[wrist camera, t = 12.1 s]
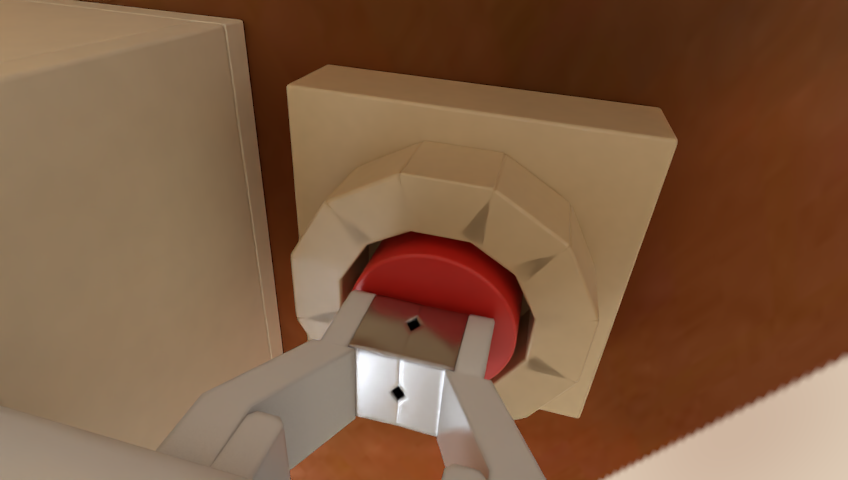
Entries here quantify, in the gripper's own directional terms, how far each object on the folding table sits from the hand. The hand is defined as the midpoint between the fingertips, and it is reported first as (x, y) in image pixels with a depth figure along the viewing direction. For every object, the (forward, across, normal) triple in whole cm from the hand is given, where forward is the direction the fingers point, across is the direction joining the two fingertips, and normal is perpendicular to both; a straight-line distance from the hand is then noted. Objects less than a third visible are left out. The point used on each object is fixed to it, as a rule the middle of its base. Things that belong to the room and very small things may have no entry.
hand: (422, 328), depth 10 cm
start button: (+2, 0, 0) cm, 2 cm away
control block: (+4, 0, 0) cm, 4 cm away
